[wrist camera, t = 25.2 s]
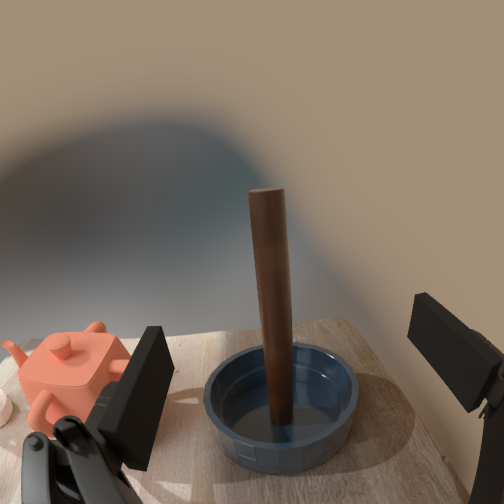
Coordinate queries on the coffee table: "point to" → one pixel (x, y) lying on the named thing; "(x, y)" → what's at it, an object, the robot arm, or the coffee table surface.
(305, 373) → the bowl
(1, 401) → the character figurine
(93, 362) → the teapot
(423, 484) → the coffee table surface
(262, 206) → the stirring stick
